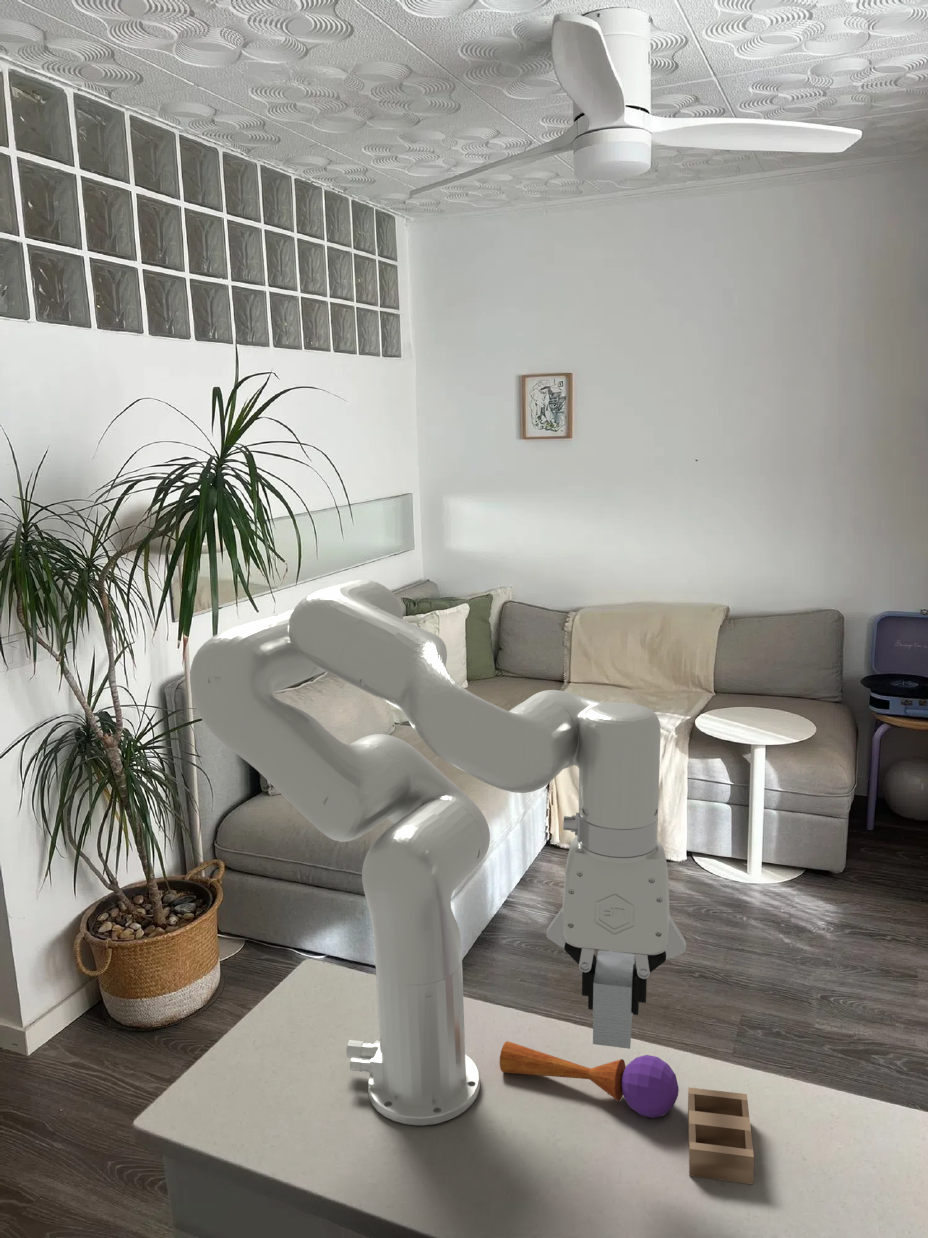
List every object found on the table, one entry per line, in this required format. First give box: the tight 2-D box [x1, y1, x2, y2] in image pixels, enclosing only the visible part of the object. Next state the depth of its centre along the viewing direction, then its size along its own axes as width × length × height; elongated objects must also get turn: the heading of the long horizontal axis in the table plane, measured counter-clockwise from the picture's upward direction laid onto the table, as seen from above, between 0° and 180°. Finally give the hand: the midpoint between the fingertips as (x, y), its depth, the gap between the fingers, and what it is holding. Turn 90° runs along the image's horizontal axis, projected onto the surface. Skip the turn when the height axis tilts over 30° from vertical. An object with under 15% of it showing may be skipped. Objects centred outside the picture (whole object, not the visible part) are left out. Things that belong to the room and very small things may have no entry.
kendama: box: [499, 1040, 680, 1119], centre depth 104 cm, size 6×6×20 cm
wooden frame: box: [687, 1086, 755, 1185], centre depth 95 cm, size 6×9×3 cm, turn 168°
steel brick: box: [592, 950, 635, 1050], centre depth 93 cm, size 4×7×7 cm, turn 168°
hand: (614, 1002), depth 93 cm, fingers closed on steel brick, 3 cm apart
